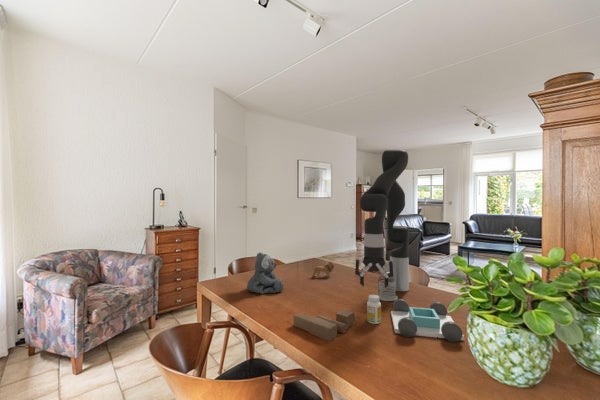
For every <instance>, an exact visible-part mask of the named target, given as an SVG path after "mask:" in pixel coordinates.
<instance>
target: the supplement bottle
mask: <svg viewBox="0 0 600 400" xmlns="http://www.w3.org/2000/svg"><path fill="white" fill-rule="evenodd" d="M377 295H378V294H369V295H368V301H367V302H366V320H367V321H366V322H368V323H369V324H372V325H377V324H380V323H382V304H381V302H380V299H379V296H377Z"/></svg>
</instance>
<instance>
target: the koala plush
mask: <svg viewBox="0 0 600 400" xmlns="http://www.w3.org/2000/svg"><path fill="white" fill-rule="evenodd" d="M255 256H256V257H255V265H254V274H253V275H252V276H251V277H250V278H249V280H248V281H247V286H246V288H247V290H248V291H249V292H250V293H255V294H259V293H260V295H262V294H263V295H264V294H267V293H269V294H276V292H277V293H281V292H282V291H283V290H284V284H283V281H282V279H281V278H277V277H276V275H275V273H274V270H275V269H276V266H277V264H276V263H275V261H274V260H273V259H272V258H271V256H270V255H269V254H267V253H266V254H265V253H263V252H258V253H257V254H256V255H255Z"/></svg>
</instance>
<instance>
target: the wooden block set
mask: <svg viewBox="0 0 600 400" xmlns="http://www.w3.org/2000/svg"><path fill="white" fill-rule="evenodd" d="M335 313H336V314H335V319H333V318H329V317H325V316H324V315H321V314H319V315H316V317H315V316H311V315H309V314H306V313H296V314H294V315H293V326H294V327H296V328H298V329H300V330H303V331H306V332H308V333H309V334H312V335H314V336H316V337H319V338H321V339H323V340H326V341H328V342H331V341H333V340H334V339H335V338H336V337H338V333H342V334H345V333H346V332H347V330H348V329H349V328H350V327H352V326H353V325H355V311H349V310H348V311H347V310H340V311H338V312H335Z"/></svg>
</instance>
